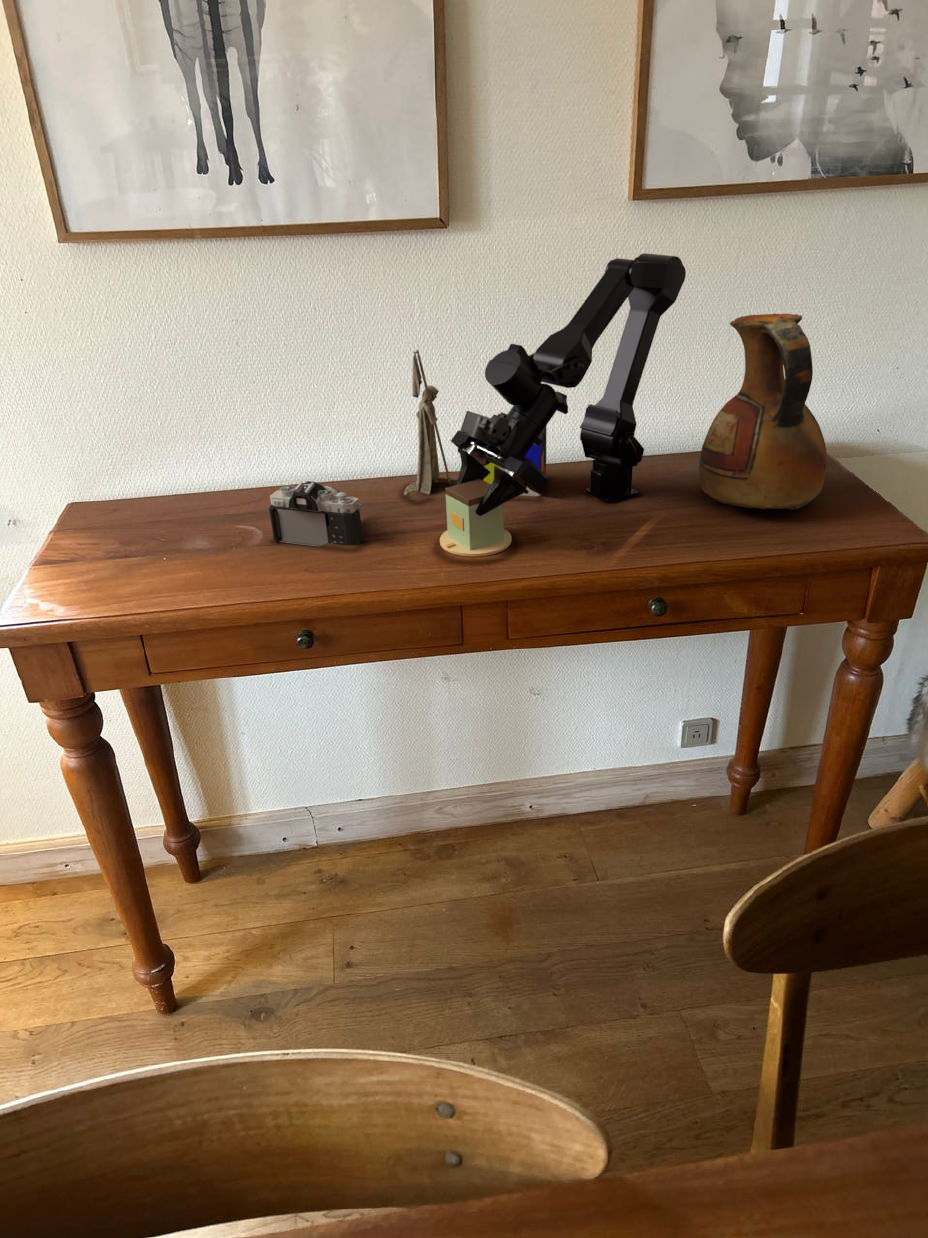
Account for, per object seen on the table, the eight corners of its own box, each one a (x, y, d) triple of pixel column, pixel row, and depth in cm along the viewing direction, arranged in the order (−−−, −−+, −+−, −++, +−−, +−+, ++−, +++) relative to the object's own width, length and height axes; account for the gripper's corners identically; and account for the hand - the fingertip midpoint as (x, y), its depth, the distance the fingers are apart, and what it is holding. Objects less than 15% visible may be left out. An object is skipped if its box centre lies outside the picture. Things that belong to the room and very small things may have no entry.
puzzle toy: (538, 500, 152) (539, 444, 147) (481, 498, 154) (479, 442, 149) (546, 479, 161) (546, 425, 156) (491, 477, 163) (489, 423, 158)
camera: (379, 531, 144) (374, 472, 139) (355, 555, 137) (349, 493, 132) (294, 521, 149) (285, 464, 144) (266, 544, 141) (257, 484, 136)
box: (484, 520, 144) (483, 470, 140) (526, 543, 136) (525, 490, 132) (426, 538, 139) (423, 487, 135) (465, 563, 131) (463, 509, 127)
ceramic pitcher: (771, 472, 159) (796, 296, 144) (847, 514, 143) (884, 320, 128) (674, 489, 154) (689, 309, 139) (740, 534, 138) (766, 335, 123)
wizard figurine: (454, 500, 154) (447, 353, 141) (405, 504, 153) (393, 356, 141) (449, 479, 163) (442, 338, 150) (402, 482, 162) (391, 342, 150)
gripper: (459, 376, 135) (399, 462, 135) (530, 404, 121) (464, 499, 121) (503, 417, 142) (447, 498, 143) (576, 448, 128) (513, 538, 129)
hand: (465, 507), depth 134 cm, fingers closed on box, 6 cm apart
